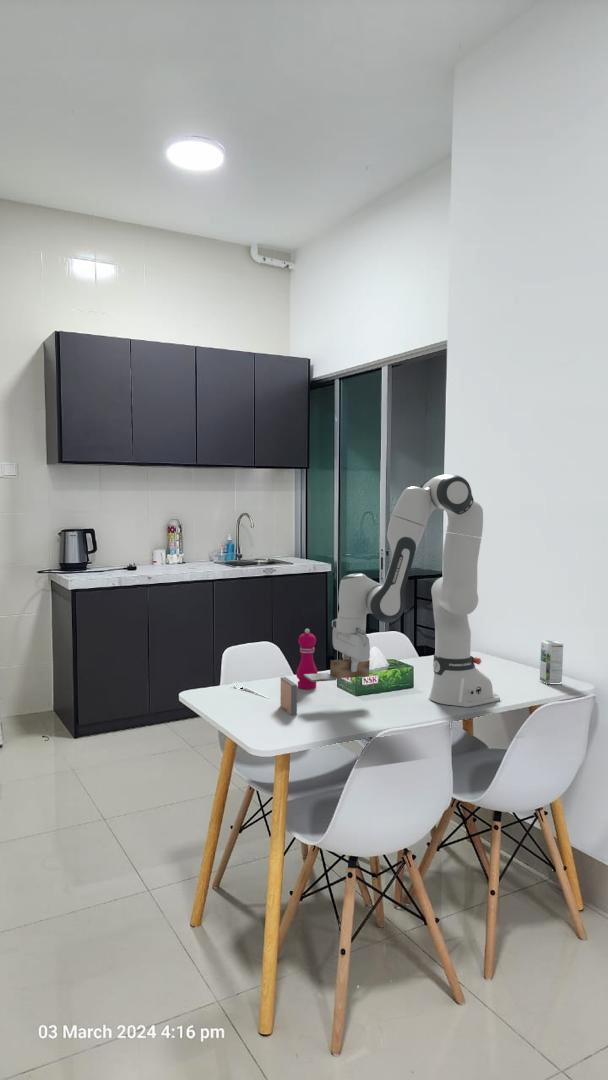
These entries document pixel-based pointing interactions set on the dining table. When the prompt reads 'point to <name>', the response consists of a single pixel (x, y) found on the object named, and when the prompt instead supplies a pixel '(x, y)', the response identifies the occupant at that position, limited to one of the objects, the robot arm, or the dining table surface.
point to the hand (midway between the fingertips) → (350, 669)
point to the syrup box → (551, 661)
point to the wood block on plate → (341, 671)
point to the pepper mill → (306, 660)
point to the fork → (246, 688)
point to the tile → (289, 696)
